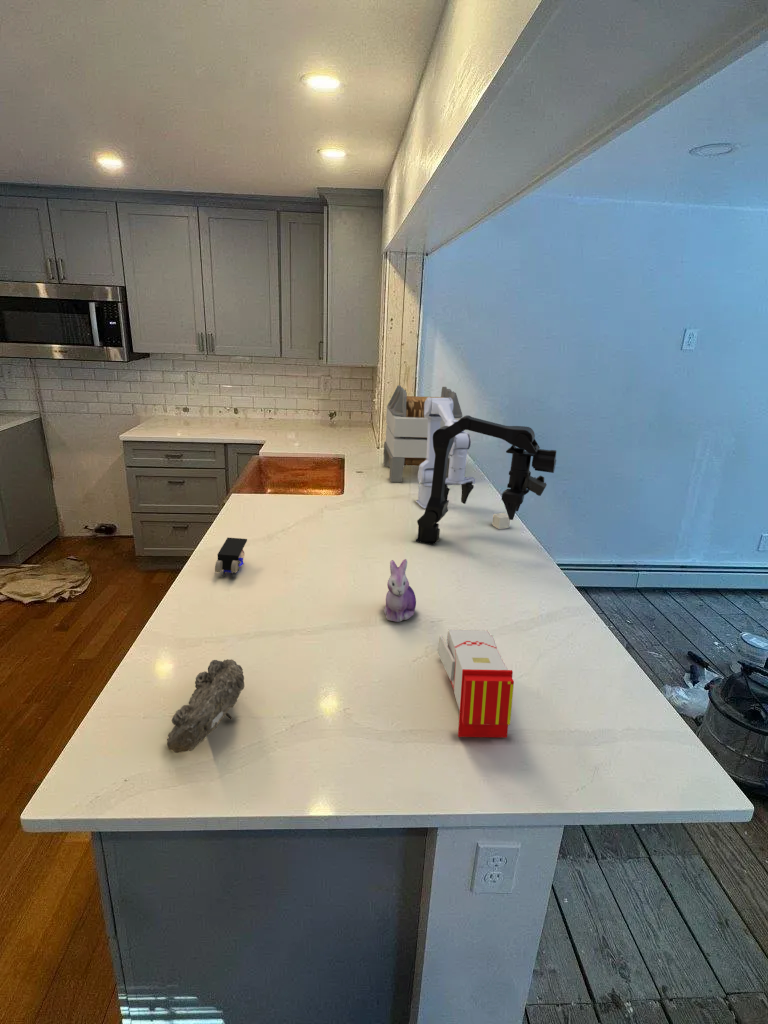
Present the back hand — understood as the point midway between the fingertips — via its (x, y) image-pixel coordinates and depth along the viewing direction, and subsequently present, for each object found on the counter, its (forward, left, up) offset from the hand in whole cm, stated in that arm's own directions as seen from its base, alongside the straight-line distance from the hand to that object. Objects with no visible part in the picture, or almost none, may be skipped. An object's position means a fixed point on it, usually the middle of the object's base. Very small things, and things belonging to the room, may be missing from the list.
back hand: (453, 503), depth 203 cm
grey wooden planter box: (-72, +13, -10) cm, 74 cm away
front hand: (+26, +9, +4) cm, 28 cm away
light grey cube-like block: (+1, +19, -10) cm, 22 cm away
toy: (+88, -33, -10) cm, 94 cm away
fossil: (+83, -84, -10) cm, 119 cm away
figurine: (+54, -37, -10) cm, 66 cm away
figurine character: (+19, -78, -10) cm, 81 cm away
